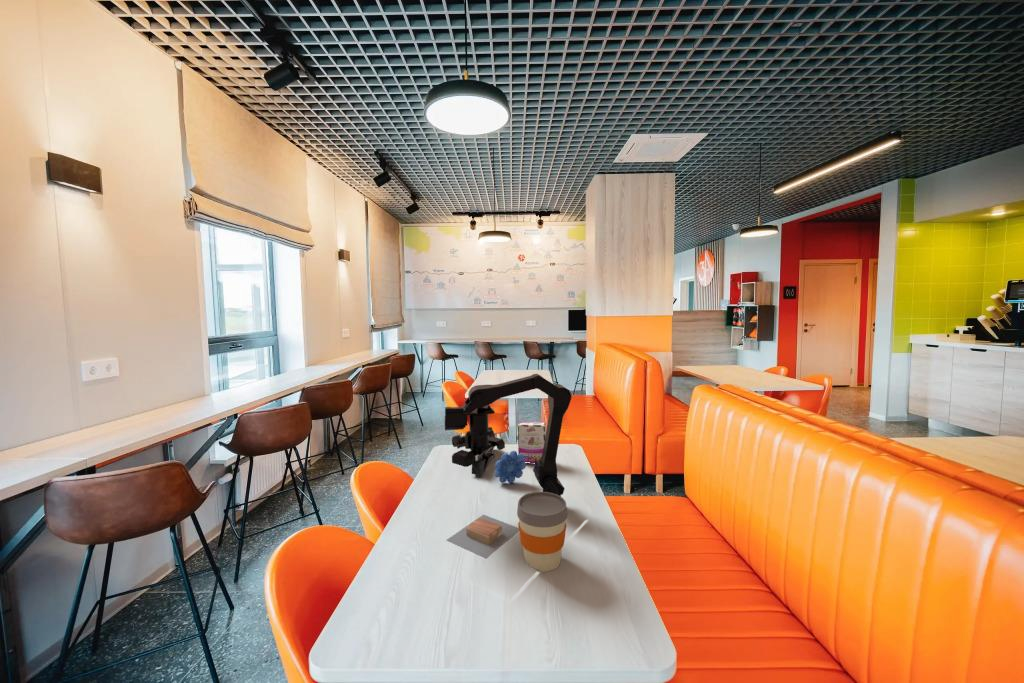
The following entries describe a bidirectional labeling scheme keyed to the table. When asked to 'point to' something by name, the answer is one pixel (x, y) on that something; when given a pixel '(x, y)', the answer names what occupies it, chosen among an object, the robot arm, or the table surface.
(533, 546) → the reusable coffee cup
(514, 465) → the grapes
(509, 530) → the slate mat
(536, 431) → the candy bar box
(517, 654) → the table surface
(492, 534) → the maple tile
